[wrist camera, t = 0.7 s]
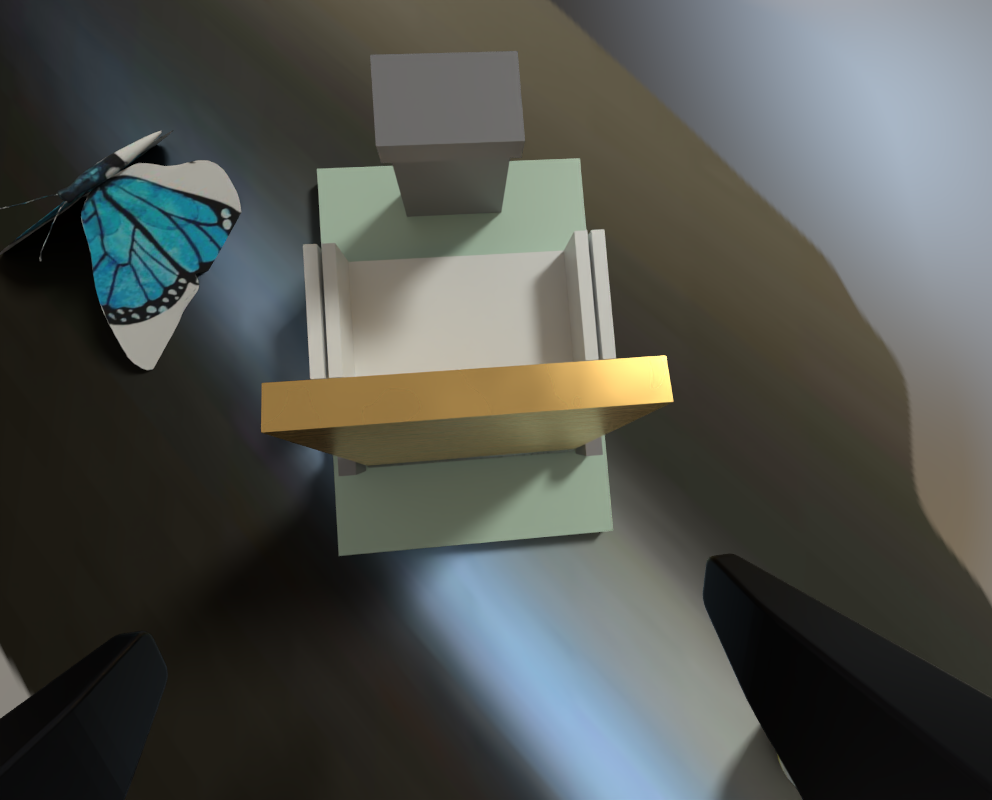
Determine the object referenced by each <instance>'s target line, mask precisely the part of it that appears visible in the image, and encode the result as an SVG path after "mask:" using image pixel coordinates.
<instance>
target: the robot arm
mask: <svg viewBox="0 0 992 800" xmlns="http://www.w3.org/2000/svg"><path fill="white" fill-rule="evenodd" d="M703 601H704V605H705V608H706V610H707V613H708V615H709V617H710V619H711V622H712V624H713V626H714V628H715V630H716V633H717V635H718V637H719V639H720V642H721V644H722V646H723V648H724V650H725V653H726V655H727V657H728V659H729V662H730V664H731V666H732V668H733V671H734V673H735V675H736V677H737V679H738V682H739V684H740V686H741V688H742V690H743V692H744V694H745V697H746V699H747V701H748V703H749V704H750V706H751V708H752V710H753V712H754V714H755V716H756V717H757V719H758V721H759V723H760V724H761V726H762V728H763V730H764V732H765V733H766V735H767V737H768V739H769V740H770V742H771V744H772V746H773V747H774V749H775V751H776V753H777V754H778V756H779V758H780V760H781V762H782V763H783V765H784V767H785V769H786V770H787V772H788V774H789V776H790V777H791V779H792V781H793V783H794V784H795V786H796V788H797V790H798V791H799V793H800V795H801V797H802V799H803V800H992V698H991V697H989V696H988V695H986V694H984V693H982V692H981V691H979V690H977V689H975V688H973V687H972V686H970V685H968V684H966V683H964V682H963V681H961V680H959V679H957V678H955V677H954V676H952V675H950V674H948V673H947V672H945V671H943V670H941V669H939V668H938V667H936V666H934V665H932V664H930V663H929V662H927V661H925V660H923V659H922V658H920V657H918V656H916V655H914V654H913V653H911V652H909V651H907V650H905V649H904V648H902V647H900V646H898V645H896V644H895V643H893V642H891V641H889V640H888V639H886V638H884V637H882V636H880V635H879V634H877V633H875V632H873V631H871V630H870V629H868V628H866V627H864V626H863V625H861V624H859V623H857V622H855V621H854V620H852V619H850V618H848V617H846V616H845V615H843V614H841V613H839V612H837V611H836V610H834V609H832V608H830V607H829V606H827V605H825V604H823V603H821V602H820V601H818V600H816V599H814V598H812V597H811V596H809V595H807V594H805V593H804V592H802V591H800V590H798V589H796V588H795V587H793V586H791V585H789V584H787V583H786V582H784V581H782V580H780V579H778V578H777V577H775V576H773V575H771V574H770V573H768V572H766V571H764V570H762V569H761V568H759V567H757V566H755V565H753V564H752V563H750V562H748V561H746V560H745V559H743V558H741V557H739V556H737V555H735V554H723V555H716V556H711V557H709V559H708V560H707V563H706V570H705V579H704V587H703ZM166 681H167V667H166V664H165V662H164V660H163V658H162V656H161V654H160V652H159V649H158V647H157V645H156V643H155V641H154V639H153V637H152V635H151V634H150V633H148V632H147V631H138V632H130V633H123V634H119V635H116V636H114V637H113V638H111V639H110V640H108V641H107V642H106V643H104V644H103V645H101V646H100V647H99V648H97V649H96V650H94V651H93V652H92V653H90V654H89V655H88V656H86V657H85V658H83V659H82V660H81V661H79V662H78V663H76V664H75V665H74V666H72V667H71V668H70V669H68V670H67V671H65V672H64V673H63V674H61V675H60V676H59V677H57V678H56V679H54V680H53V681H52V682H50V683H49V684H47V685H46V686H45V687H43V688H42V689H41V690H39V691H38V692H36V693H35V694H34V695H32V696H31V697H29V698H28V699H27V700H25V701H24V702H23V703H21V704H20V705H18V706H17V707H16V708H14V709H13V710H12V711H10V712H9V713H7V714H6V715H5V716H3V717H2V718H0V800H124V799H125V797H126V794H127V792H128V789H129V786H130V784H131V781H132V779H133V776H134V773H135V770H136V767H137V765H138V762H139V759H140V756H141V753H142V750H143V748H144V745H145V742H146V739H147V736H148V733H149V731H150V728H151V725H152V722H153V719H154V716H155V714H156V711H157V708H158V705H159V702H160V699H161V697H162V694H163V691H164V688H165V685H166Z"/></svg>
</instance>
